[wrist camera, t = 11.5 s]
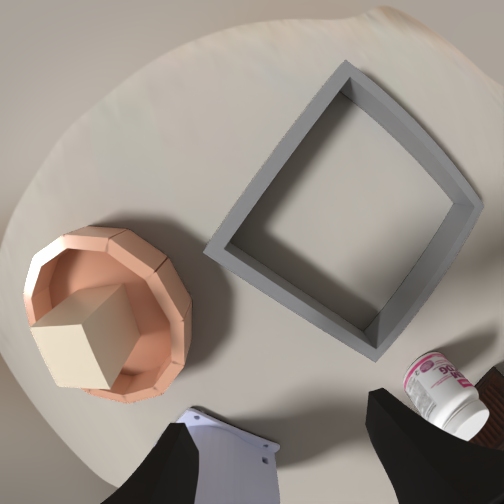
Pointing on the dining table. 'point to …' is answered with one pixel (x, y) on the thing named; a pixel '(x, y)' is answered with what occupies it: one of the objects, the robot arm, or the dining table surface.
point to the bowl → (139, 294)
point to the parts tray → (428, 265)
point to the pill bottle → (445, 396)
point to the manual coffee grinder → (491, 410)
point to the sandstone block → (88, 337)
